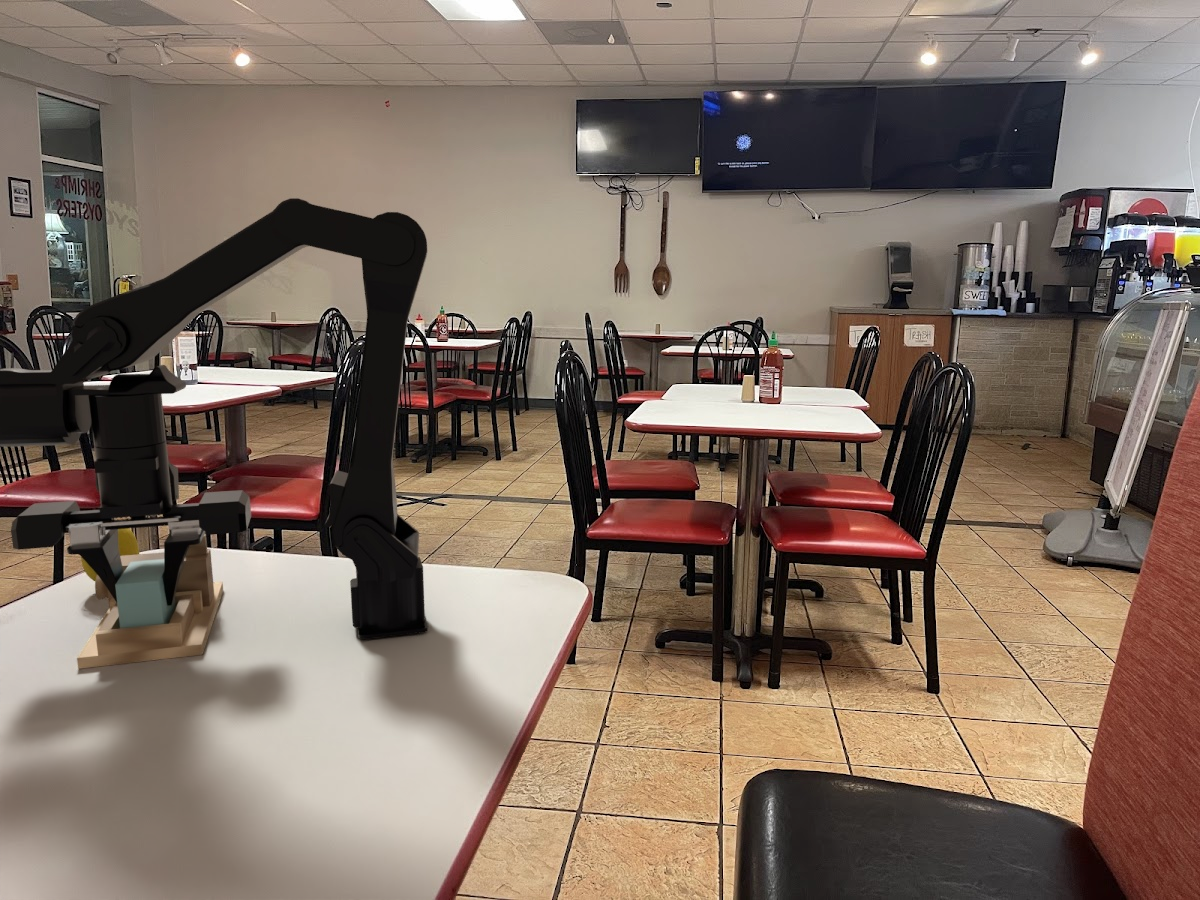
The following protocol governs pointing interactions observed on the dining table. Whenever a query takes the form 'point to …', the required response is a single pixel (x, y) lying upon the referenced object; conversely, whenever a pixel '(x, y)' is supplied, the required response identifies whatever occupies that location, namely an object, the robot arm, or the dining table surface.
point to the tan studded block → (191, 578)
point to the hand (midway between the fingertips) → (148, 606)
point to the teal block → (143, 595)
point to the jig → (153, 634)
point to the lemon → (126, 547)
